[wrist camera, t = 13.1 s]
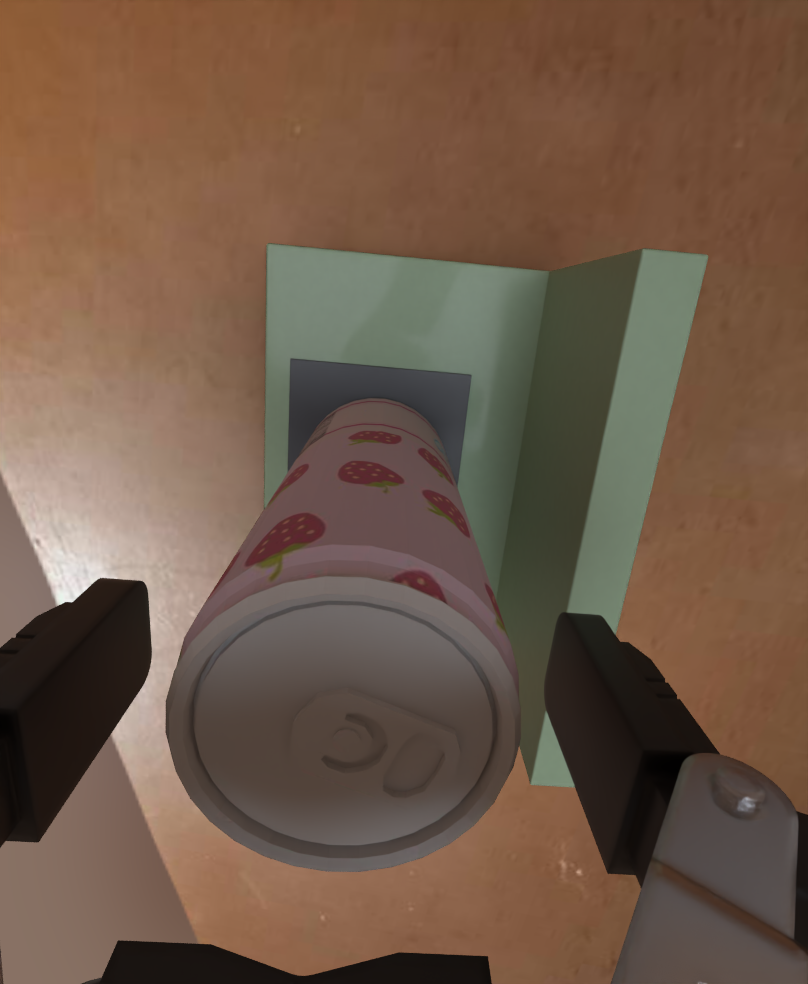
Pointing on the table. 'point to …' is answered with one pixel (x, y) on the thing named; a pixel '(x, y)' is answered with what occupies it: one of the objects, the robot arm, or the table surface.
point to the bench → (500, 412)
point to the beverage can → (350, 660)
